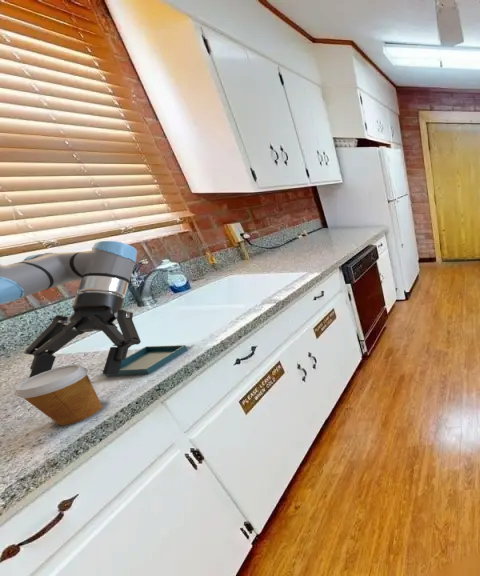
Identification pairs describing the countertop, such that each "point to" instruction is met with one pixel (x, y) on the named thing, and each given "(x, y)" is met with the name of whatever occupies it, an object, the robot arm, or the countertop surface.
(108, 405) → the countertop surface
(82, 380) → the disposable coffee cup
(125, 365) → the cup tray
